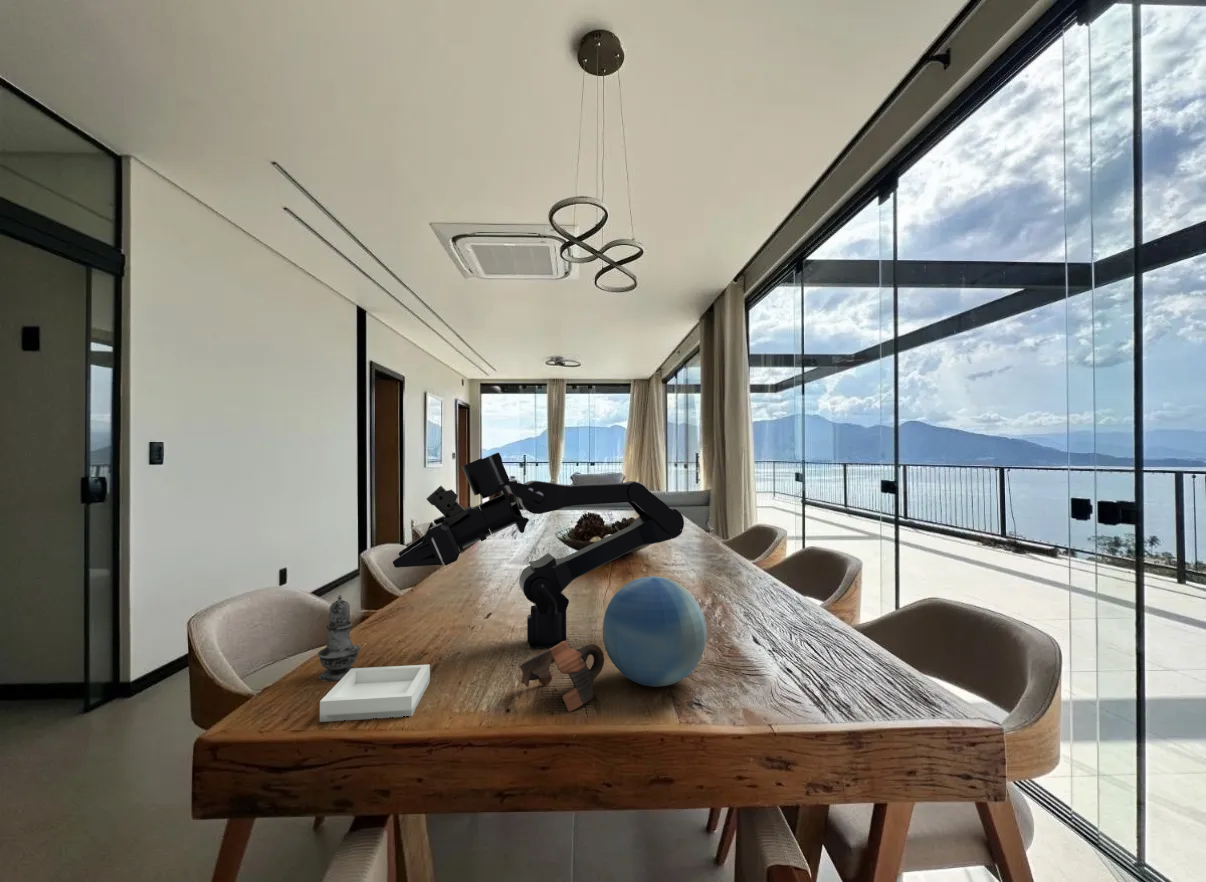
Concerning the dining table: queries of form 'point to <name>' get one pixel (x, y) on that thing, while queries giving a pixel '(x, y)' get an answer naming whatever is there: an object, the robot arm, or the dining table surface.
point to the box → (376, 693)
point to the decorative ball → (654, 631)
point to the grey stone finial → (338, 643)
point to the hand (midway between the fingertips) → (396, 559)
